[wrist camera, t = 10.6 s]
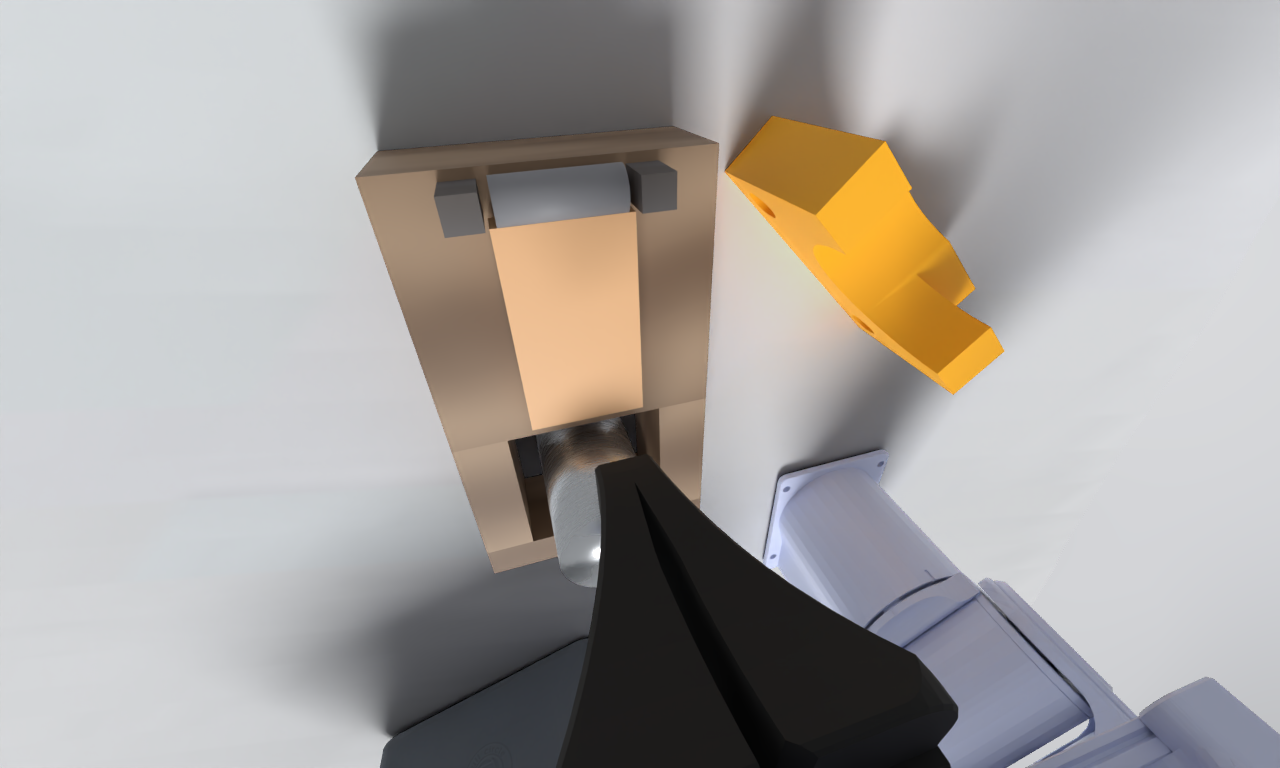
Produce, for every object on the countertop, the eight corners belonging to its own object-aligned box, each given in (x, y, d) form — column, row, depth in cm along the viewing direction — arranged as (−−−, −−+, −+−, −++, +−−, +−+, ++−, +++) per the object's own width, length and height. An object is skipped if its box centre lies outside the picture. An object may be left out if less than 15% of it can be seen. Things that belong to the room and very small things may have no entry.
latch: (477, 170, 13) (479, 182, 12) (622, 156, 14) (636, 166, 13) (528, 409, 18) (533, 434, 17) (633, 388, 19) (644, 410, 18)
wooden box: (672, 464, 27) (712, 544, 23) (490, 508, 25) (496, 605, 21) (673, 126, 18) (743, 152, 13) (377, 150, 15) (342, 191, 11)
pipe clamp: (923, 263, 25) (1041, 319, 20) (857, 326, 26) (953, 394, 21) (804, 75, 18) (936, 86, 13) (722, 170, 19) (815, 215, 14)
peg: (615, 441, 25) (665, 572, 19) (538, 455, 24) (563, 598, 18) (614, 377, 23) (671, 501, 17) (529, 389, 22) (554, 526, 16)
